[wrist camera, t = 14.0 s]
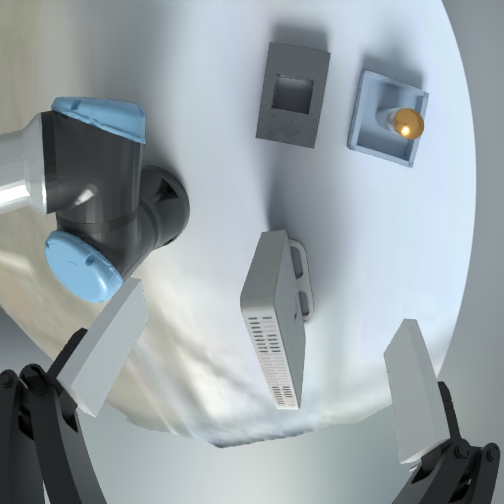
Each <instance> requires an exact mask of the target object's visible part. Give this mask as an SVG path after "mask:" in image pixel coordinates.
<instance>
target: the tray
mask: <svg viewBox="0 0 504 504" xmlns="http://www.w3.org/2000/svg"><path fill="white" fill-rule="evenodd" d="M428 97H429V93H427V92H425V91H423V90H420V89H418V88H416V87H413V86H411V85H408V84H406V83H403V82H400V81H398V80H395V79H392V78H389V77H386V76H383V75H380V74H377V73H374V72H371V71H367V70H364V71H362V72H361V74H360V80H359V86H358V92H357V97H356V102H355V108H354V113H353V118H352V123H351V128H350V133H349V137H348V142H347V147H348V148H349V149H351V150H354V151H358V152H362V153H365V154H369V155H372V156H376V157H379V158H382V159H385V160H389V161H392V162H395V163H398V164H401V165H404V166H407V167H410V168H412V167H413V163H414V159H415V156H416V152H417V148H418V144H419V140H420V136H419V137H418V138H416V139H407V138H404V137H402V136H400V135H398V134H395V133H393V132H390V131H388V130H385V129H382V128H381V127H380V126H379V125H378V124H377V122H376V119H375V115H376V112H377V110H378V109H379V108H381V107H384V106H386V107H397V108H410V109H414V110H416V111H417V112H418V113H419V114H420V115H421V116H422V118H423V121H424V118H425V113H426V108H427V102H428Z"/></svg>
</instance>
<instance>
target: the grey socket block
mask: <svg viewBox="0 0 504 504" xmlns="http://www.w3.org/2000/svg"><path fill="white" fill-rule="evenodd" d="M330 54H331V53H329V52H325V51H320V50H315V49H310V48H304V47H298V46H292V45H285V44H277V43H270V45H269V51H268V58H267V64H266V71H265V77H264V84H263V91H262V98H261V104H260V111H259V118H258V125H257V132H256V138H260V139H266V140H272V141H278V142H283V143H288V144H294V145H299V146H303V147H308V148H313V149H314V145H315V140H316V135H317V129H318V124H319V119H320V113H321V108H322V102H323V96H324V91H325V85H326V79H327V73H328V67H329V60H330ZM279 77H285V78H291V79H297V80H303V81H308V82H313V89H312V95H311V101H310V107H309V113H308V114H306V113H301V112H295V111H290V110H284V109H278V108H274V107H275V101H276V95H277V88H278V82H279Z"/></svg>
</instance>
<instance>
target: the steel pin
mask: <svg viewBox="0 0 504 504" xmlns="http://www.w3.org/2000/svg"><path fill="white" fill-rule="evenodd" d="M375 119H376V122H377V124H378V125H379V126H380V127H381V128H382V129H385V130H388V131H390V132H393V133H395V134H398V135H400V136H402V137H404V138H407V139H416V138H418V137H419V136H421V134H422V133H423V130H424V121H423V118H422V116H421V115H420V114H419V113H418V112H417V111H416V110H414V109H410V108H397V107H386V106H384V107H381V108H379V109H378V110H377V112H376V115H375Z"/></svg>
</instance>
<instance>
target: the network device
mask: <svg viewBox="0 0 504 504" xmlns="http://www.w3.org/2000/svg"><path fill="white" fill-rule="evenodd" d="M290 247H295V248H297V249H298V250H299V252H300V257H301V263H302V269H303V274H302V275H301V276H299V277H295V271H294V266H293V261H292V255H291V250H290ZM300 291H302V292H304V293H306V295H307V300H308V307H309V313H308V314H306V315H302V311H301V305H300V299H299V293H298V292H300ZM240 306H241V312H242V315H243V318H244V321H245V324H246V326H247V329H248V332H249V335H250V338H251V341H252V343H253V346H254V349H255V352H256V354H257V357H258V360H259V363H260V365H261V368H262V371H263V374H264V376H265V379H266V382H267V384H268V387H269V390H270V392H271V395H272V398H273V400H274V403H275V406H276V408H277V409H300V403H301V393H302V382H303V370H304V356H305V329H304V323H303V321H306V320H309V319H310V318H311V317H312V316H313V314H314V305H313V298H312V291H311V284H310V277H309V270H308V264H307V258H306V252H305V249H304V247H303V246H302V244H301V243H299V242H298V241H295V240H291V239H288V235H287V231H286V229H283V230H276V231H268V232H262V233H261V236H260V239H259V242H258V245H257V248H256V251H255V254H254V257H253V260H252V263H251V266H250V269H249V272H248V275H247V278H246V281H245V283H244V286H243V289H242V292H241V297H240Z"/></svg>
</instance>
